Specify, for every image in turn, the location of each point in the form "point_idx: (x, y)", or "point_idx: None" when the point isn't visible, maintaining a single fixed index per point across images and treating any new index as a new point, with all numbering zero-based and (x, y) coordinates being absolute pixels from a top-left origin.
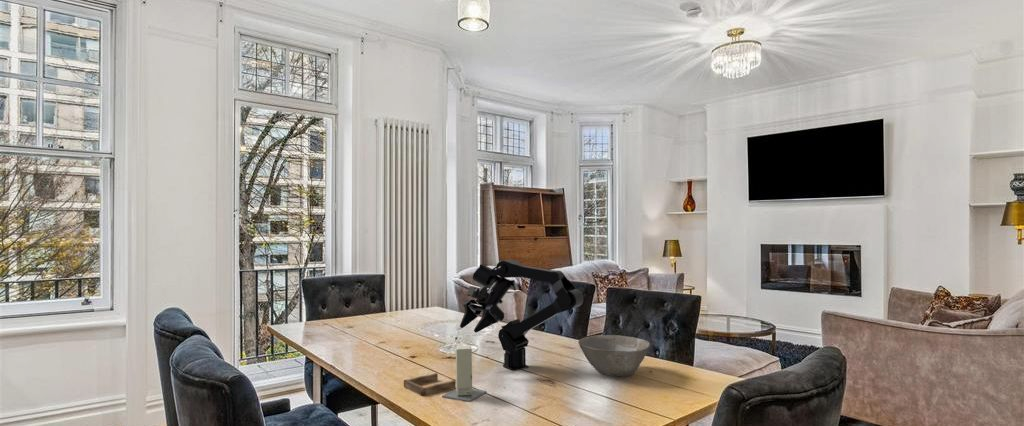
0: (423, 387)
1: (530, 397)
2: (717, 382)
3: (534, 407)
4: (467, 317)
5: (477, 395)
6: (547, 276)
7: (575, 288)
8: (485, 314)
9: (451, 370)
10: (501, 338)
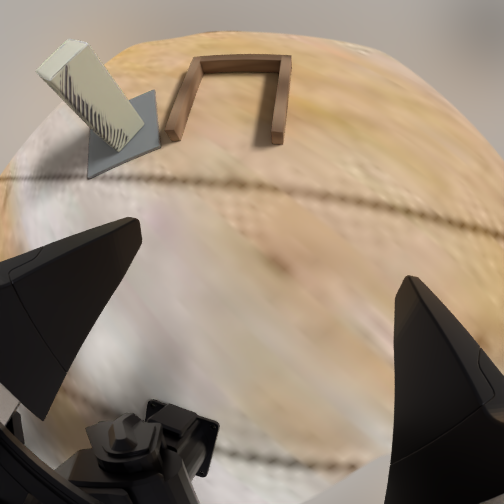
0: (199, 60)
1: (20, 229)
2: None
3: (8, 196)
4: (436, 393)
5: (90, 145)
6: None
7: None
8: None
9: (339, 252)
10: (140, 443)
